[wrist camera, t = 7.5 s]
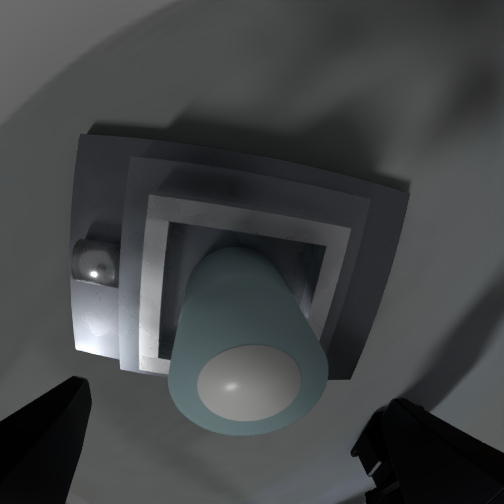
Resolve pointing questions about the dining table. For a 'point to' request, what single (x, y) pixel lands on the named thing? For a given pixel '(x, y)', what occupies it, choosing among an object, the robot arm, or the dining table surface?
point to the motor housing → (220, 242)
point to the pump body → (243, 348)
